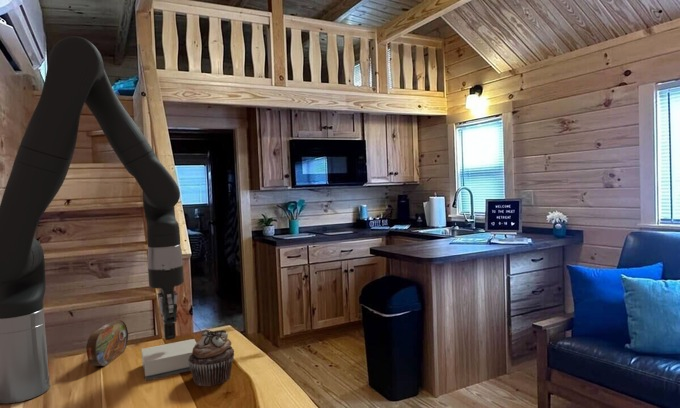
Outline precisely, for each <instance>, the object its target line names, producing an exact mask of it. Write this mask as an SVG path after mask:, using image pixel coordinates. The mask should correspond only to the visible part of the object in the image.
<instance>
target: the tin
mask: <svg viewBox="0 0 680 408" xmlns="http://www.w3.org/2000/svg"><path fill="white" fill-rule="evenodd" d="M128 341H129V332H128V326H127V324H126V323H125V321H123V320H114V321H113V320H112V321H109V322H107V323H105V325H103V326H101V327H100V328H98V329H97V330H95V331H94V332H92V333H91V334H90V335H89V337H88V339H87V342H86V345H85V346H86V348H85V349H86V357H87V361H88V363H89V364H90V366H92V367H106V366H108V365H109V364H110V363H112V362H113V361H114V360H116V359H117V358H118V357H120V356H121V355H122V354H123V353H124V352H125V350H126V349H127V345H128Z"/></svg>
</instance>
